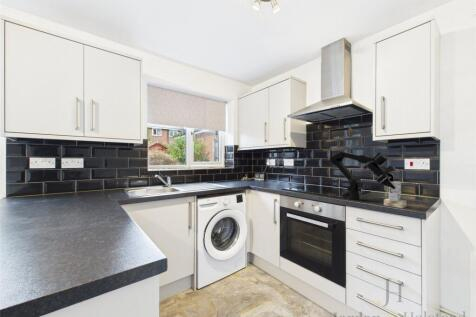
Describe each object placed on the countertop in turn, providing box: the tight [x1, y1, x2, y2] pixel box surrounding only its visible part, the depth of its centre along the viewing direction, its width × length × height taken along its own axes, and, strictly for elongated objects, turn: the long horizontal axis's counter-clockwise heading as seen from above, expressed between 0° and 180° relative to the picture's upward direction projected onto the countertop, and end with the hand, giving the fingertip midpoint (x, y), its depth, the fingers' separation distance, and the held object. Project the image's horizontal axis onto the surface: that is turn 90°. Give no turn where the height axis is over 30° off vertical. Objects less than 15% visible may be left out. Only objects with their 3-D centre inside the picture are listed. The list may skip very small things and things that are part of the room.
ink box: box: [388, 180, 402, 201], centre depth 133 cm, size 8×5×12 cm, turn 130°
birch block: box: [383, 197, 407, 209], centre depth 132 cm, size 10×7×4 cm
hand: (396, 187), depth 132 cm, fingers open, 9 cm apart
